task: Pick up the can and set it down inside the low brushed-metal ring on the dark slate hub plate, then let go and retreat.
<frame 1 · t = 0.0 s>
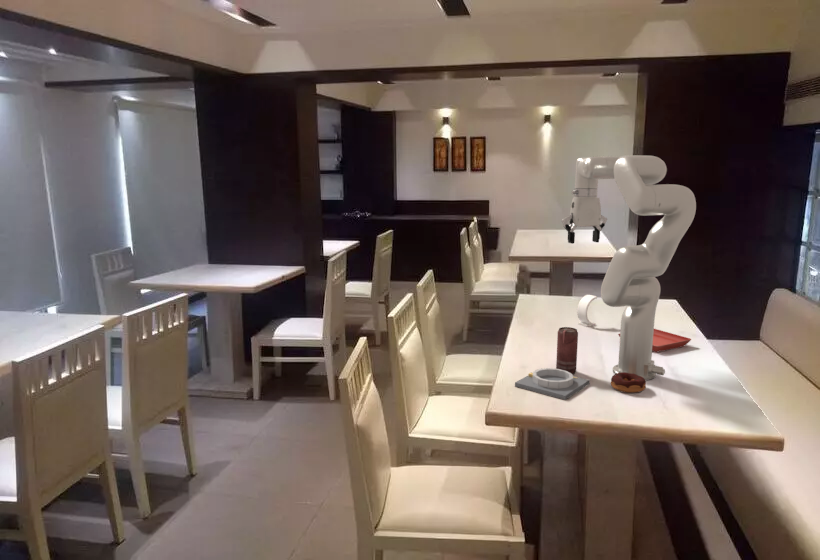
hand: (583, 242, 208), 37 cm above the table, tool pointing down, fingers open, 9 cm apart
plant saucer: (653, 345, 215), on the table
can: (565, 372, 186), on the table
donut: (627, 389, 172), on the table
white curved piece: (585, 325, 240), on the table
hub: (552, 385, 175), on the table
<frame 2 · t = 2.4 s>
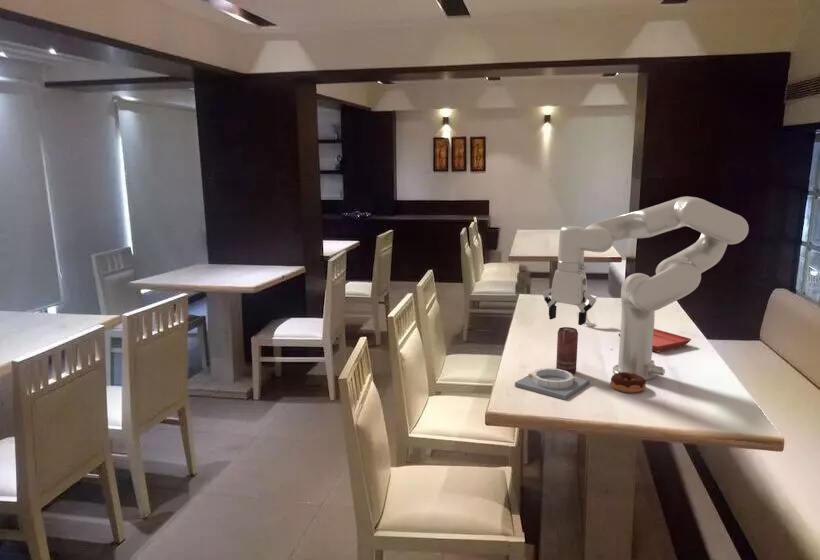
hand: (566, 321, 183), 16 cm above the table, tool pointing down, fingers open, 9 cm apart
nothing on the table moved.
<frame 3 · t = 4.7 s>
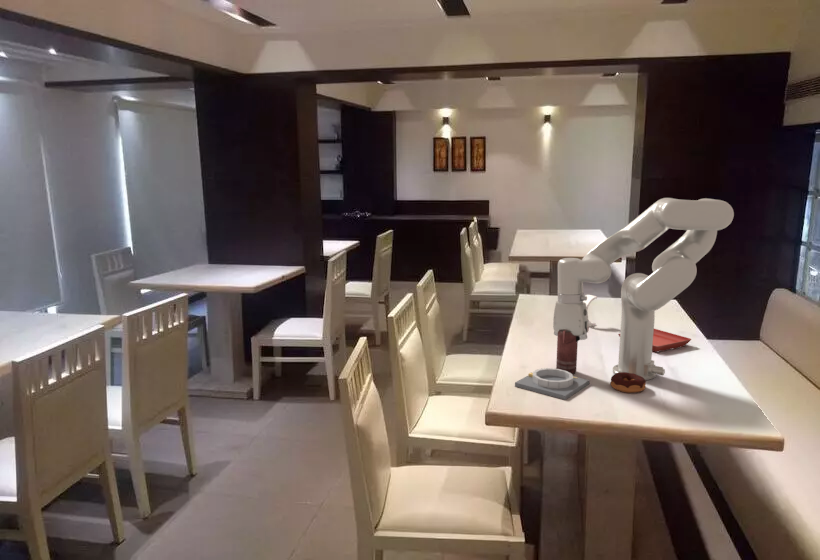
hand: (570, 355, 185), 6 cm above the table, tool pointing down, fingers closed
can: (565, 372, 186), on the table, touching gripper
everything else where it was.
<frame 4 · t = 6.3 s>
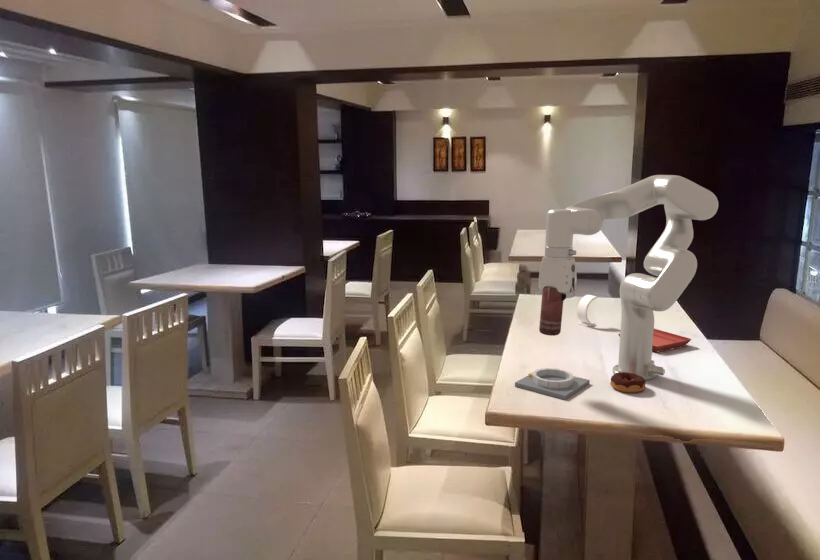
hand: (555, 315, 171), 21 cm above the table, tool pointing down, fingers closed
can: (549, 333, 173), point 16 cm above the table, touching gripper
everything else where it was.
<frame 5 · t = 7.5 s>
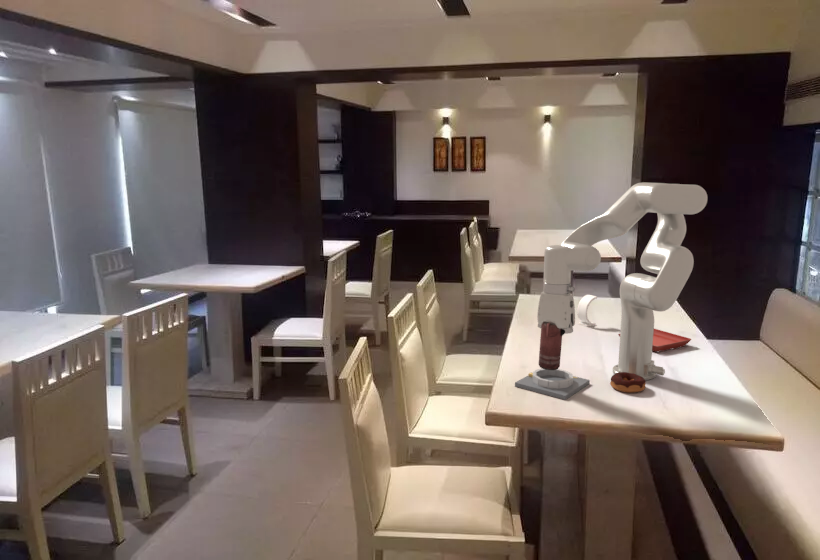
hand: (554, 349, 173), 11 cm above the table, tool pointing down, fingers closed
can: (548, 367, 174), point 5 cm above the table, touching gripper
everything else where it was.
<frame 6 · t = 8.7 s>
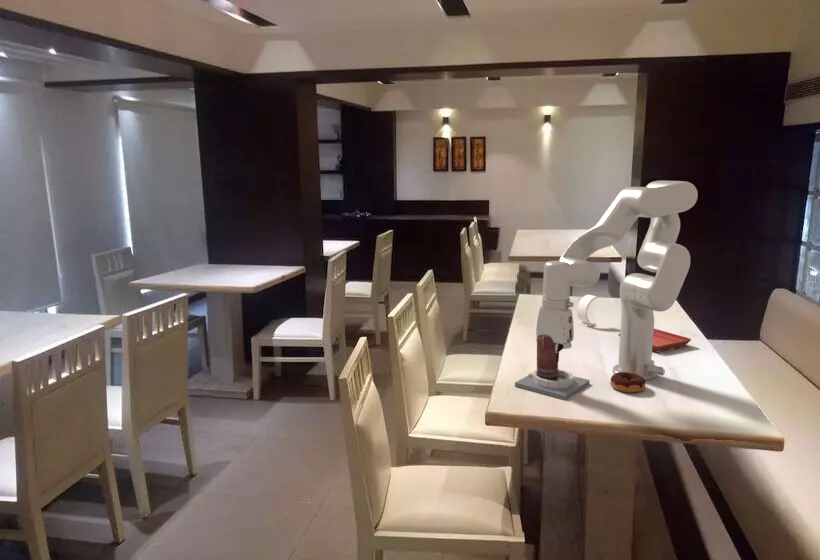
hand: (552, 364, 173), 6 cm above the table, tool pointing down, fingers closed
can: (547, 381, 175), point 1 cm above the table, touching hub
everything else where it was.
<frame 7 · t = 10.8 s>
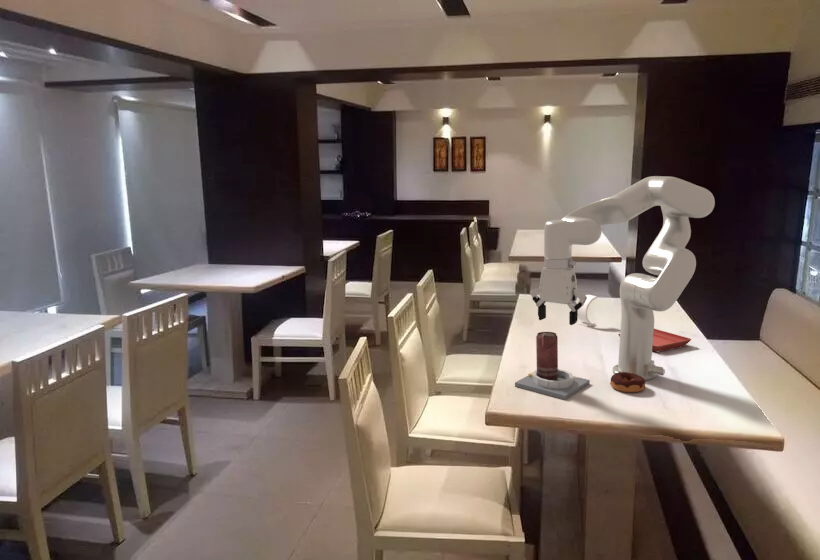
hand: (557, 321, 171), 19 cm above the table, tool pointing down, fingers open, 9 cm apart
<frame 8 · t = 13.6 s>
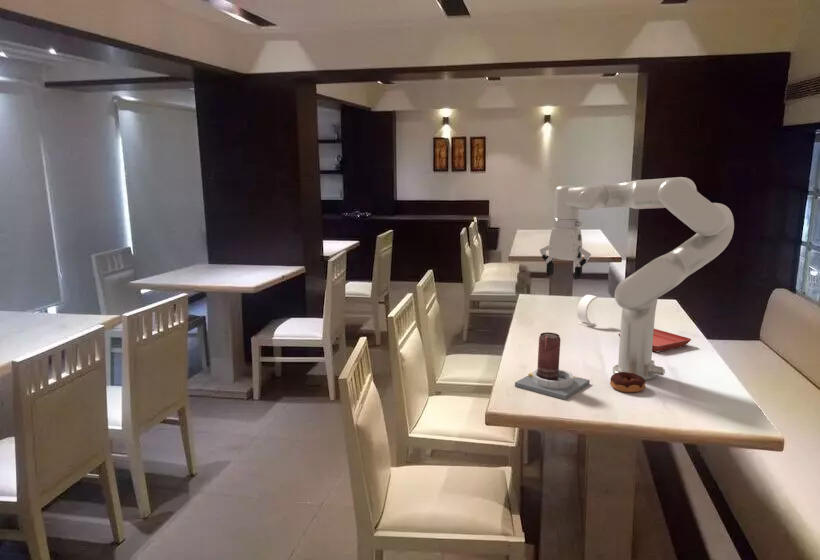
hand: (563, 276, 192), 28 cm above the table, tool pointing down, fingers open, 9 cm apart
at the end: can 1.6 cm off-centre on the hub, point 1.1 cm above the hub's base; can tilted 2°; the gripper is holding nothing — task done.
